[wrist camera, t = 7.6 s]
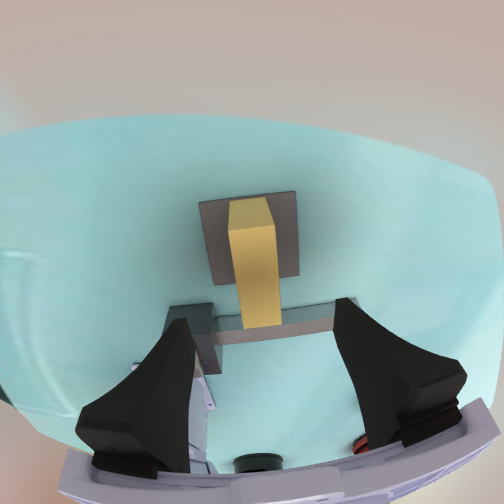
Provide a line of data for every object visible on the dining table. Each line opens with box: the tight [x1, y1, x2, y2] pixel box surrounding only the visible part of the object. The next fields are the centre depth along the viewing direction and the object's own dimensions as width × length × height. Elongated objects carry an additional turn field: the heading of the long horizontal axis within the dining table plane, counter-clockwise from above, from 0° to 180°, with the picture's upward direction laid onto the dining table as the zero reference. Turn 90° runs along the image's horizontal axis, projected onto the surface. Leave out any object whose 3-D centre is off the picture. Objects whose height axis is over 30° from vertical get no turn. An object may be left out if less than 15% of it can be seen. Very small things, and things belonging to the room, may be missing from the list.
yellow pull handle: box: [228, 197, 282, 329], centre depth 19 cm, size 7×2×6 cm, turn 6°
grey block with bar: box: [162, 298, 361, 378], centre depth 23 cm, size 5×17×5 cm, turn 96°
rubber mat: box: [199, 191, 299, 286], centre depth 22 cm, size 7×7×1 cm
